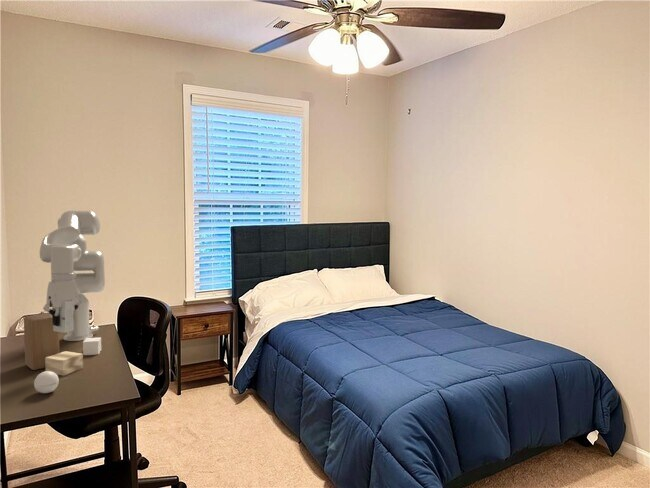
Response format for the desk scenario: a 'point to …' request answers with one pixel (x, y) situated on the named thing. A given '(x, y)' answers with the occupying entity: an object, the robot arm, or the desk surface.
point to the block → (39, 340)
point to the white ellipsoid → (46, 382)
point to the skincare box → (65, 317)
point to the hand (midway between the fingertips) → (63, 323)
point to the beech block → (64, 362)
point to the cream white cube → (92, 346)
